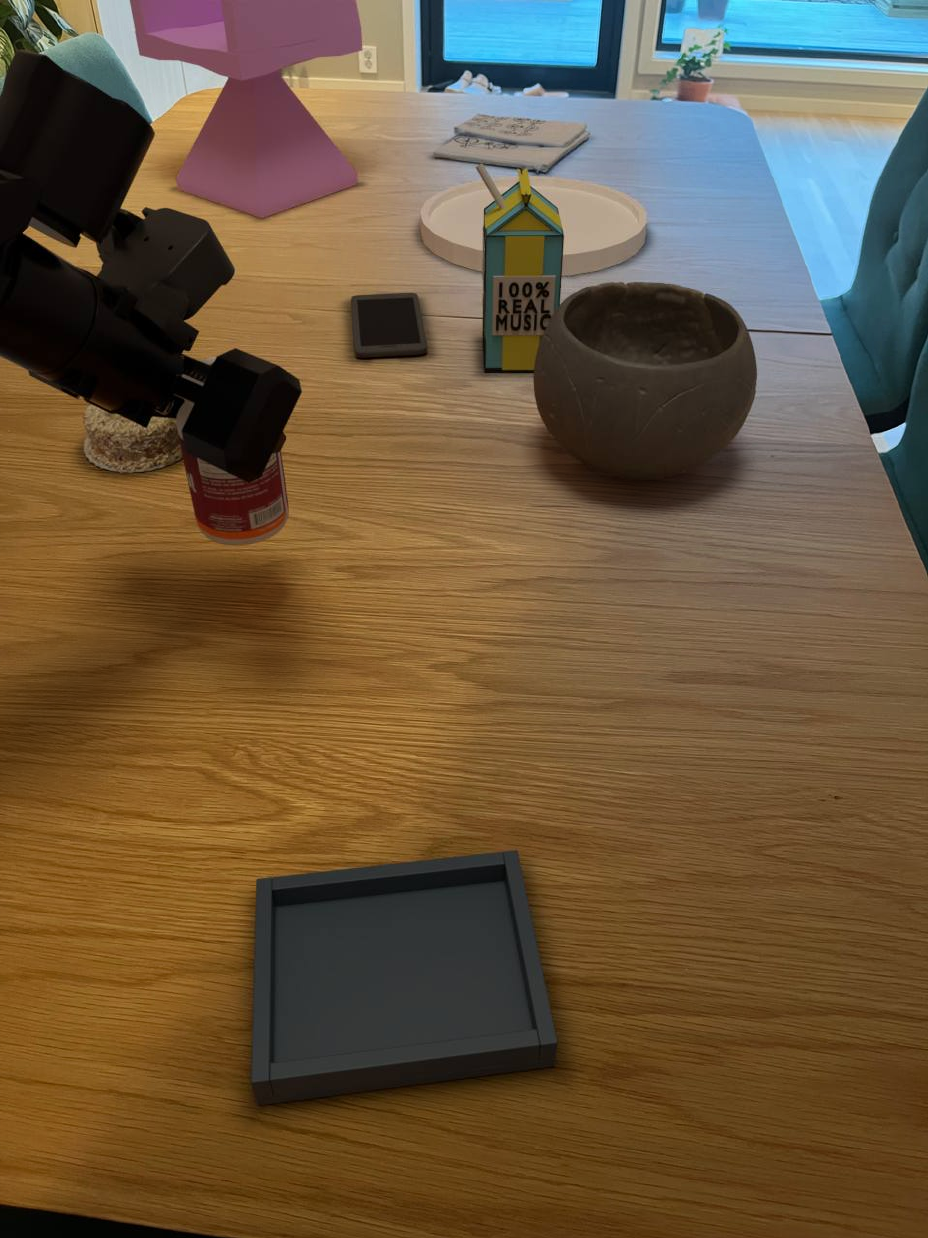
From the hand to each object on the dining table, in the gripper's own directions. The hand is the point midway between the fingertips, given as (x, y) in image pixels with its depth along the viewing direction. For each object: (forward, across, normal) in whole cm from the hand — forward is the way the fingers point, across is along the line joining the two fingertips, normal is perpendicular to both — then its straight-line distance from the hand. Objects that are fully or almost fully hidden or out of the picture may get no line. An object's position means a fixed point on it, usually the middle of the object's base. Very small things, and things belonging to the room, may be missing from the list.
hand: (246, 427), depth 65 cm
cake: (+15, +24, +4) cm, 28 cm away
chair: (+52, +65, -35) cm, 90 cm away
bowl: (+32, -11, -13) cm, 36 cm away
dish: (-3, -27, +22) cm, 35 cm away
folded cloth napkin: (+77, +49, -60) cm, 109 cm away
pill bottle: (+4, 0, +6) cm, 7 cm away
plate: (+58, +26, -40) cm, 75 cm away
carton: (+38, +8, -20) cm, 44 cm away
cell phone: (+36, +22, -18) cm, 46 cm away
